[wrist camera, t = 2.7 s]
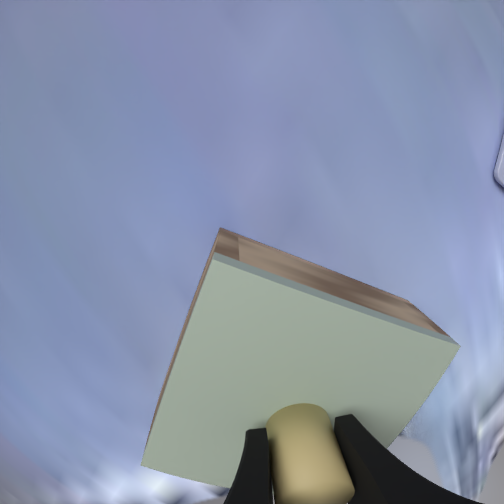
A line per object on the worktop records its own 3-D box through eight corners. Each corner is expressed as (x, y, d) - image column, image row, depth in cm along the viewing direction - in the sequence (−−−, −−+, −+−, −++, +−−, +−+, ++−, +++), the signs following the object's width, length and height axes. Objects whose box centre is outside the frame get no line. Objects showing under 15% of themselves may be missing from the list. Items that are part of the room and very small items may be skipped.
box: (408, 300, 15) (450, 337, 11) (320, 439, 17) (334, 487, 13) (220, 227, 14) (214, 251, 10) (158, 399, 16) (143, 452, 12)
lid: (450, 337, 11) (513, 395, 7) (335, 487, 13) (354, 551, 9) (214, 251, 10) (200, 317, 5) (143, 452, 12) (125, 529, 8)
